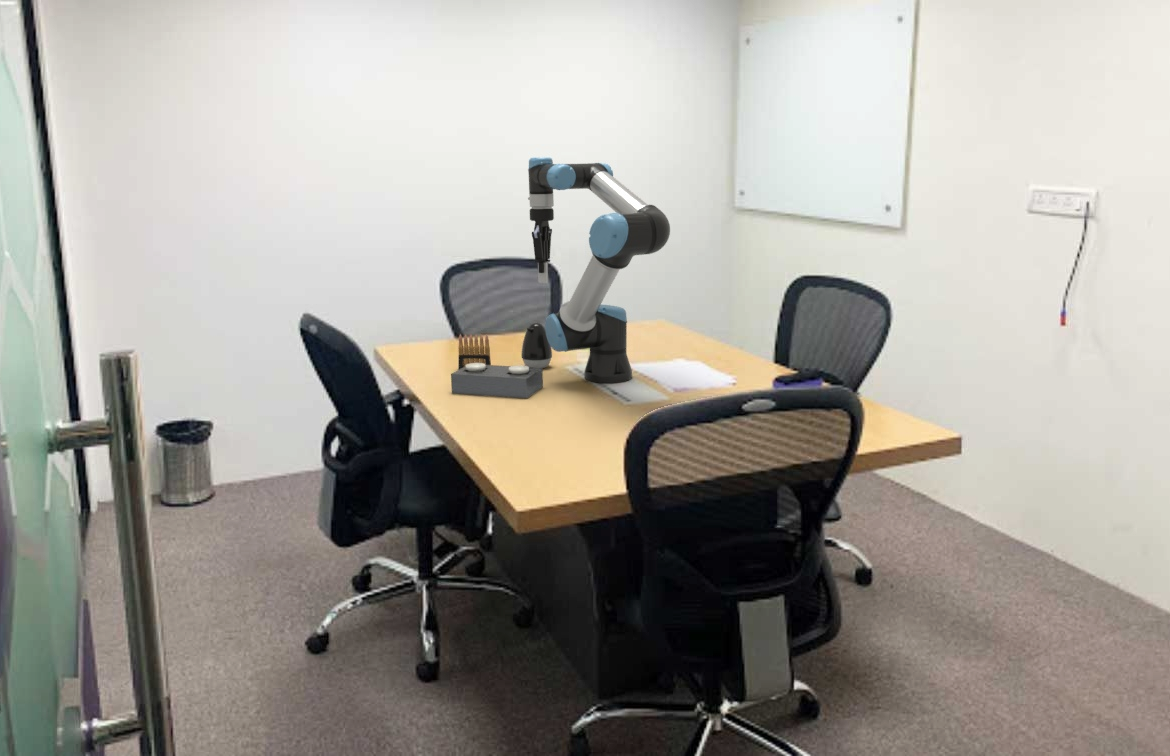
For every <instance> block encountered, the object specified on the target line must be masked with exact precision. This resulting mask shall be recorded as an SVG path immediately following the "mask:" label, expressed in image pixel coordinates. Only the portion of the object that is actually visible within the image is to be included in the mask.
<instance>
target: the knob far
mask: <svg viewBox="0 0 1170 756" xmlns="http://www.w3.org/2000/svg"><path fill="white" fill-rule="evenodd" d="M485 369H486V365H485V364H484V363H475V362H474V363H470V364H466V370H468V371H469V372H483V370H485Z"/></svg>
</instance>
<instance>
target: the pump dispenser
mask: <svg viewBox="0 0 1170 756" xmlns="http://www.w3.org/2000/svg"><path fill="white" fill-rule="evenodd" d="M521 346H522V347H521V359H522V361H523V364H524V366H528V367H531V368H543V369H545V368H547V367H548V366H549V365H550V363H551V360H552V358H553V351H552V350H553V349H552V347H551V346H550V344H549V342H548V340H547V336H546V331H545V325H543V324H542V323H540V322H533V323H531V324H530V325H529V326H528V327H526V331H525V334H524V338H523V342H522V345H521Z"/></svg>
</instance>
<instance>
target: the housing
mask: <svg viewBox="0 0 1170 756" xmlns="http://www.w3.org/2000/svg"><path fill="white" fill-rule="evenodd" d="M509 367H511V365H497V364H496V365H495V364H491V365H486V369H485V370H483V372H469V371H468V370H466V366H465V367H463V368H461V369H459V370H458V369H457V370H456V371H453V372H452V373H450V384H451V385H450V386H451V394H456V395H471V396H483V397H486V396H487V397H498V398H513V399H528V398H530V397H531V396H532V395H534V394H536V393H537V392H539V391H540V390H541V389H542V388H544V379H543V378H544V374H543V372H544V371H543V369H544V368H531V367H529V372H528V373H526V375H514V374H512V373H509Z"/></svg>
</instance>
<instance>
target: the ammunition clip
mask: <svg viewBox="0 0 1170 756" xmlns="http://www.w3.org/2000/svg"><path fill="white" fill-rule="evenodd" d="M484 337H485V338H484ZM468 338H469V339H468ZM473 339H474V340H473ZM484 339H485V341H484ZM490 348H491V347H490V340H489V335H488V334H487V333H486V334H485V336H483V334H480V336H479V338H478V335H477V334H475V335H474V338H473V335H472V333H470V334H469V337H468V336H467V334H464V338H463V336H462V334H461V333H460V334H459V337H458V365H457V366H458V367H457V368H458V369H457V370H459V369H461V368H463V367H465V366H466V364H470V363H484V364H485V365H492V364H491V363H492V362H491V361H492V360H491V353H490V351H491V349H490Z"/></svg>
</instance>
